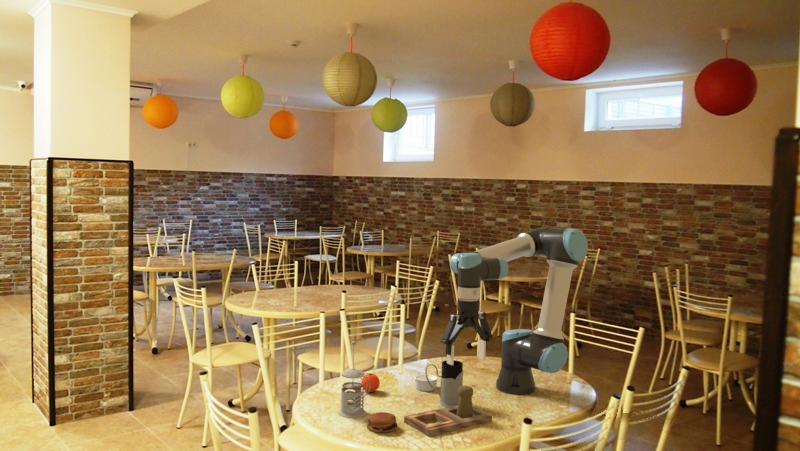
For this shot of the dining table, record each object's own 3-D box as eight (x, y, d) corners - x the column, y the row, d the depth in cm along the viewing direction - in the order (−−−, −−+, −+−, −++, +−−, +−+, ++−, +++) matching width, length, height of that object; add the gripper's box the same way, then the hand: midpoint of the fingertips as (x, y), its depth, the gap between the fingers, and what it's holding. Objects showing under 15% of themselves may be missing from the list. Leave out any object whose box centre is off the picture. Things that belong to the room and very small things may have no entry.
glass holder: (460, 409, 228) (461, 367, 227) (421, 404, 232) (422, 363, 231) (465, 401, 236) (466, 361, 235) (427, 396, 240) (428, 357, 239)
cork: (472, 422, 215) (474, 390, 215) (454, 420, 217) (455, 388, 216) (474, 416, 221) (475, 384, 221) (456, 414, 223) (457, 383, 222)
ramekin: (409, 387, 251) (410, 376, 251) (427, 383, 257) (427, 372, 256) (424, 393, 244) (424, 382, 244) (441, 389, 250) (442, 378, 249)
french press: (332, 411, 222) (333, 339, 221) (360, 405, 229) (361, 335, 228) (347, 420, 215) (349, 346, 213) (376, 413, 222) (378, 341, 220)
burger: (361, 426, 210) (362, 412, 209) (385, 421, 215) (385, 407, 215) (378, 437, 202) (378, 422, 201) (402, 431, 207) (403, 417, 207)
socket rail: (465, 409, 228) (465, 402, 228) (491, 421, 216) (492, 415, 216) (404, 422, 214) (404, 415, 214) (428, 436, 202) (428, 429, 202)
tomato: (357, 389, 247) (357, 370, 247) (374, 387, 250) (374, 369, 250) (364, 395, 240) (365, 376, 239) (382, 393, 243) (382, 374, 242)
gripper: (445, 303, 206) (443, 369, 208) (504, 298, 220) (501, 359, 221) (431, 299, 213) (429, 363, 214) (489, 295, 226) (487, 354, 228)
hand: (466, 361), depth 218 cm, fingers open, 13 cm apart
